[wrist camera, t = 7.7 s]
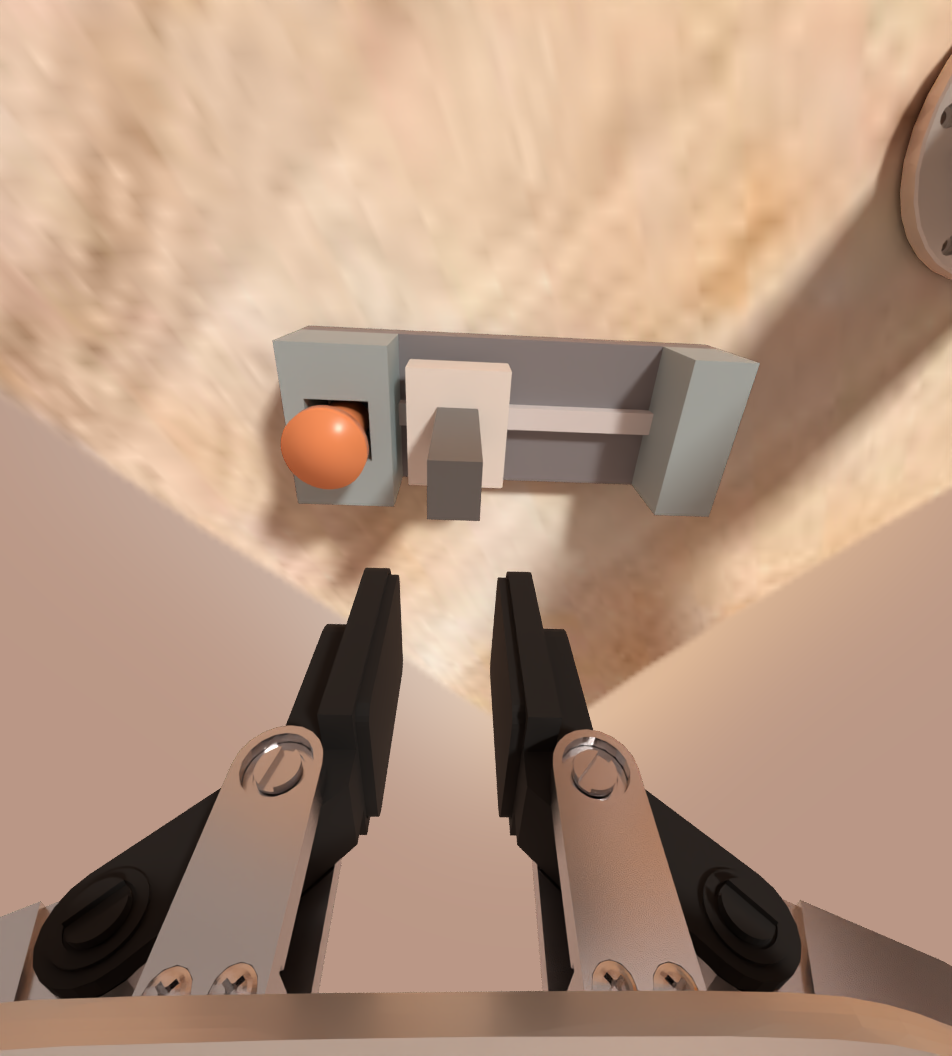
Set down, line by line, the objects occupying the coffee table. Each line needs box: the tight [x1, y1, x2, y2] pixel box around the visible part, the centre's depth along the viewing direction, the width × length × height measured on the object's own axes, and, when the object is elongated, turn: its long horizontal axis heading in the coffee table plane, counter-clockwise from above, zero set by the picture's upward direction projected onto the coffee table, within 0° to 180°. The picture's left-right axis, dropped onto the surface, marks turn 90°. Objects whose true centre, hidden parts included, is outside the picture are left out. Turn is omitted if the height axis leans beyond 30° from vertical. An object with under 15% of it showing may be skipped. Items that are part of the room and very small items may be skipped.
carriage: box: [405, 359, 512, 521], centre depth 21 cm, size 5×6×9 cm
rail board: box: [273, 326, 760, 517], centre depth 25 cm, size 22×8×6 cm, turn 87°
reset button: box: [281, 400, 370, 489], centre depth 22 cm, size 4×4×5 cm
